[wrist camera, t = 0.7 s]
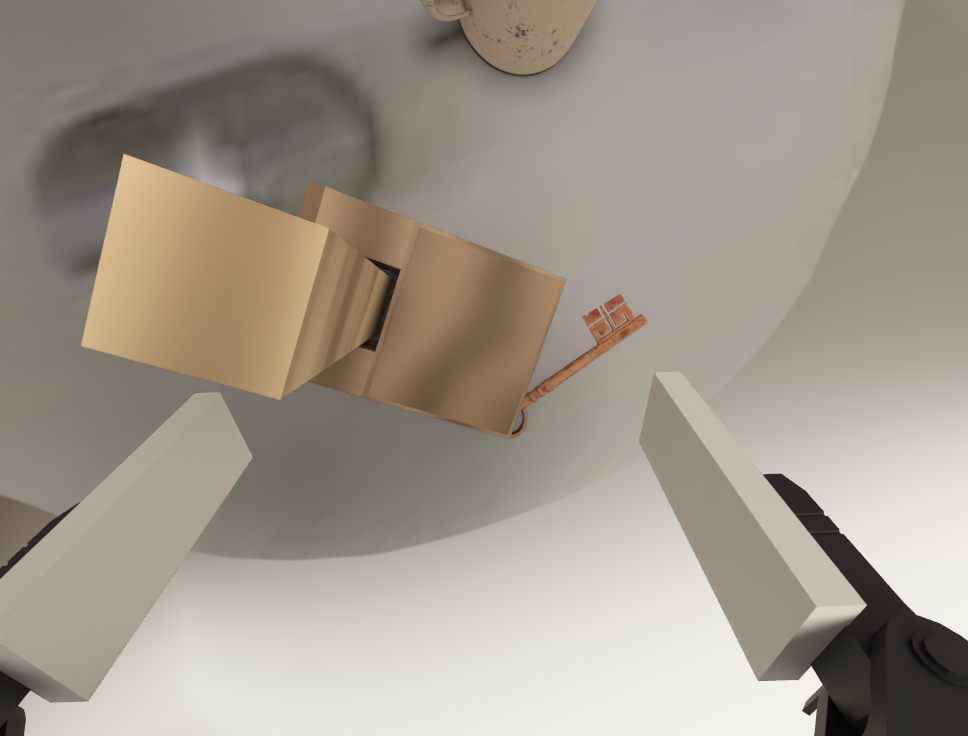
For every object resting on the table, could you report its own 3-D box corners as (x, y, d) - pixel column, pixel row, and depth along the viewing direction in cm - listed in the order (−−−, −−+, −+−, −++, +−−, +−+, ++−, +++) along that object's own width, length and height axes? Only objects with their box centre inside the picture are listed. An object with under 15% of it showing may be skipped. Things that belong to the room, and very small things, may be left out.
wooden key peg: (321, 315, 28) (80, 346, 8) (337, 260, 27) (124, 154, 8) (377, 333, 28) (280, 399, 9) (393, 280, 28) (329, 228, 8)
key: (616, 279, 31) (462, 385, 31) (621, 277, 30) (463, 387, 30) (652, 339, 32) (503, 444, 31) (658, 339, 31) (505, 447, 31)
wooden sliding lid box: (286, 355, 28) (254, 368, 22) (329, 202, 26) (306, 177, 21) (495, 417, 31) (511, 440, 26) (542, 282, 30) (568, 278, 24)
